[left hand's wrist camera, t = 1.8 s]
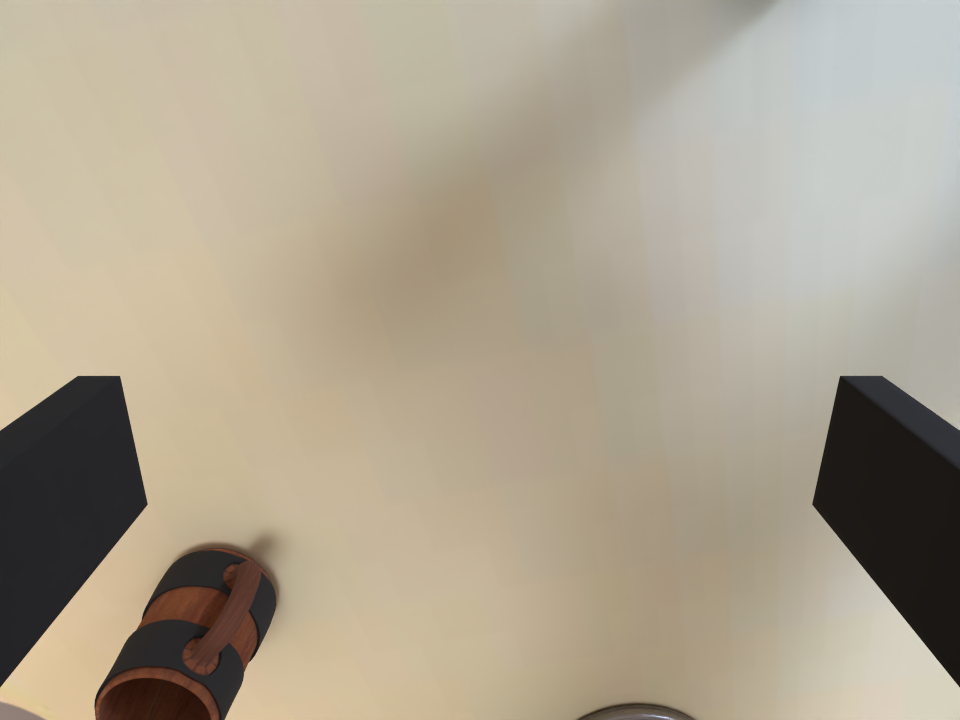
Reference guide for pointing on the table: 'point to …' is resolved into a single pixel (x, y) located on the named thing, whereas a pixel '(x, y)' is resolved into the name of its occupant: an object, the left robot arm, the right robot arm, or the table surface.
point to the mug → (191, 641)
